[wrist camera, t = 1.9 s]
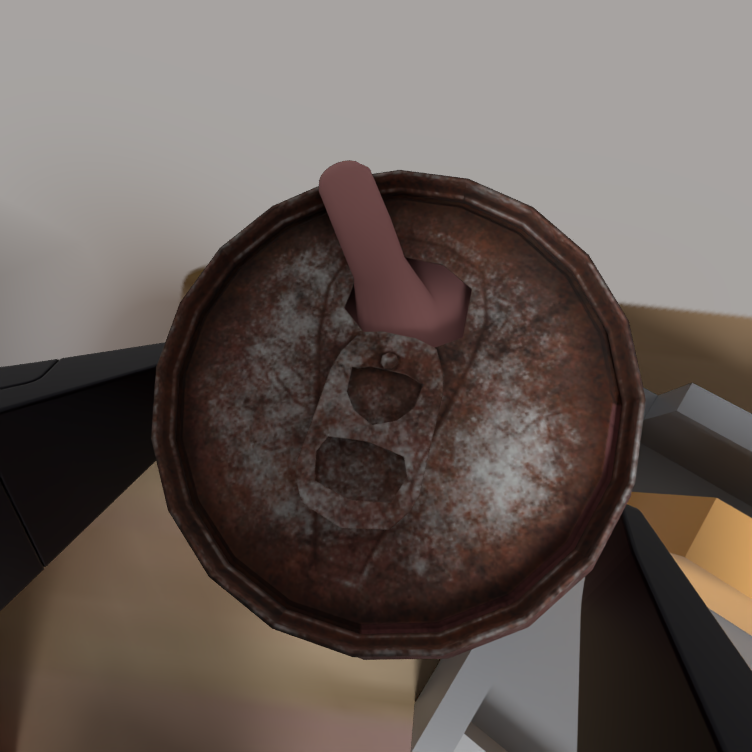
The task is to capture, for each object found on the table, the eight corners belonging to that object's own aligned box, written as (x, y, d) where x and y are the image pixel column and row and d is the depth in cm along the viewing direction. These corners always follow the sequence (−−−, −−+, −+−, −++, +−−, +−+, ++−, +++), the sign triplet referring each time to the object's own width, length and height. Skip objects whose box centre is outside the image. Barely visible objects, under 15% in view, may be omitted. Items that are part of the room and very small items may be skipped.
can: (455, 357, 19) (510, 52, 5) (517, 497, 17) (832, 567, 4) (329, 407, 19) (74, 236, 6) (378, 550, 17) (183, 803, 4)
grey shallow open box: (741, 977, 13) (922, 1271, 8) (414, 703, 16) (406, 802, 11) (921, 578, 15) (1157, 627, 10) (597, 396, 18) (659, 365, 13)
